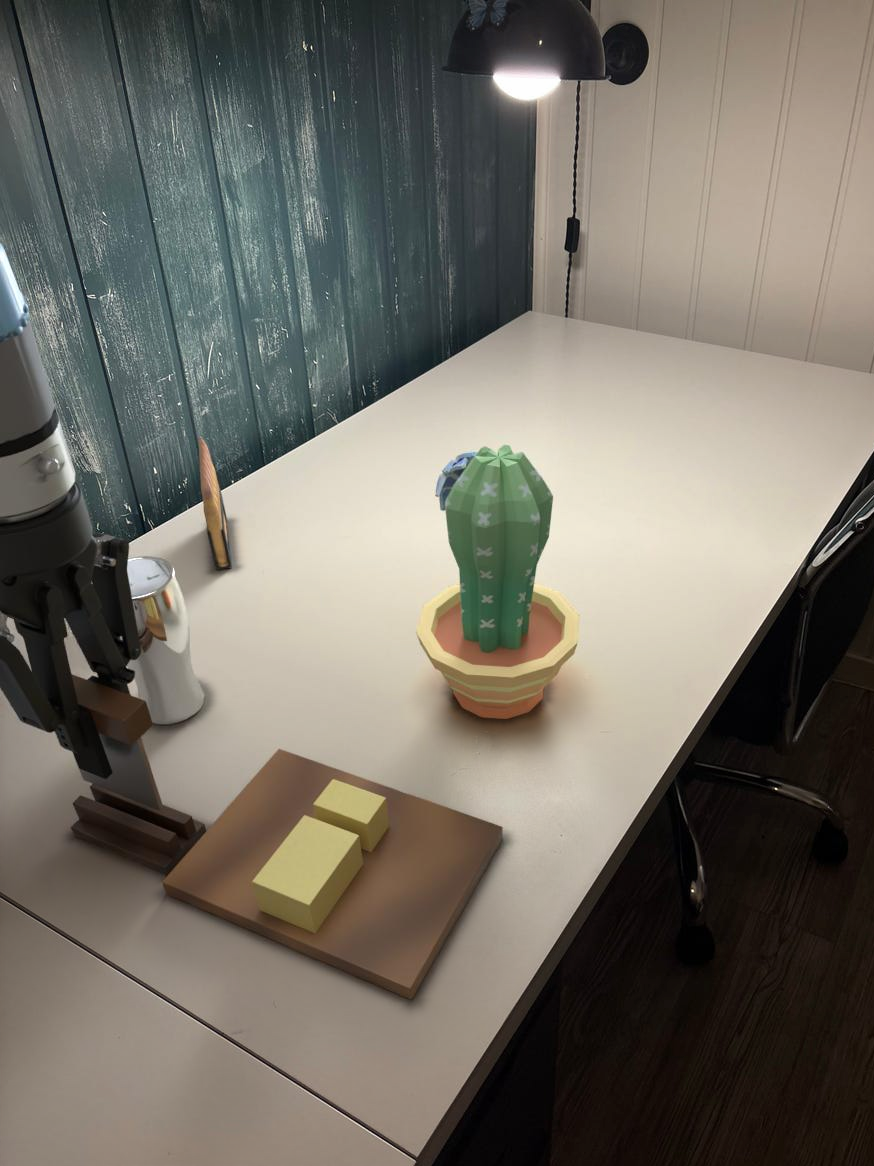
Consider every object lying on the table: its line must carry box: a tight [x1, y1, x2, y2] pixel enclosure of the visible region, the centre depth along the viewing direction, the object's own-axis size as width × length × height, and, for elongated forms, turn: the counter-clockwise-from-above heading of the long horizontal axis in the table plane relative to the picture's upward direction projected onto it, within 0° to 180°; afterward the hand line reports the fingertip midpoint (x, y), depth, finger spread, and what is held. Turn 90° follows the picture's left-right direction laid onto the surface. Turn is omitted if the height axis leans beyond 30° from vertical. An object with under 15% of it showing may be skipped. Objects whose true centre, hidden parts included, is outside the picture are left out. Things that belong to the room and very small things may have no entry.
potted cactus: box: [415, 444, 581, 720], centre depth 85 cm, size 15×15×25 cm
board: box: [161, 748, 504, 1000], centre depth 76 cm, size 22×16×2 cm
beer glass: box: [120, 556, 205, 725], centre depth 87 cm, size 7×7×15 cm
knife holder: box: [70, 783, 207, 876], centre depth 79 cm, size 10×5×3 cm, turn 65°
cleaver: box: [71, 673, 164, 811], centre depth 73 cm, size 9×2×11 cm, turn 65°
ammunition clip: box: [198, 437, 233, 571], centre depth 110 cm, size 11×2×12 cm, turn 14°
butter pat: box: [313, 779, 389, 852], centre depth 76 cm, size 5×3×4 cm, turn 65°
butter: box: [252, 815, 363, 933], centre depth 72 cm, size 5×7×4 cm
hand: (109, 756), depth 74 cm, fingers closed on cleaver, 2 cm apart
